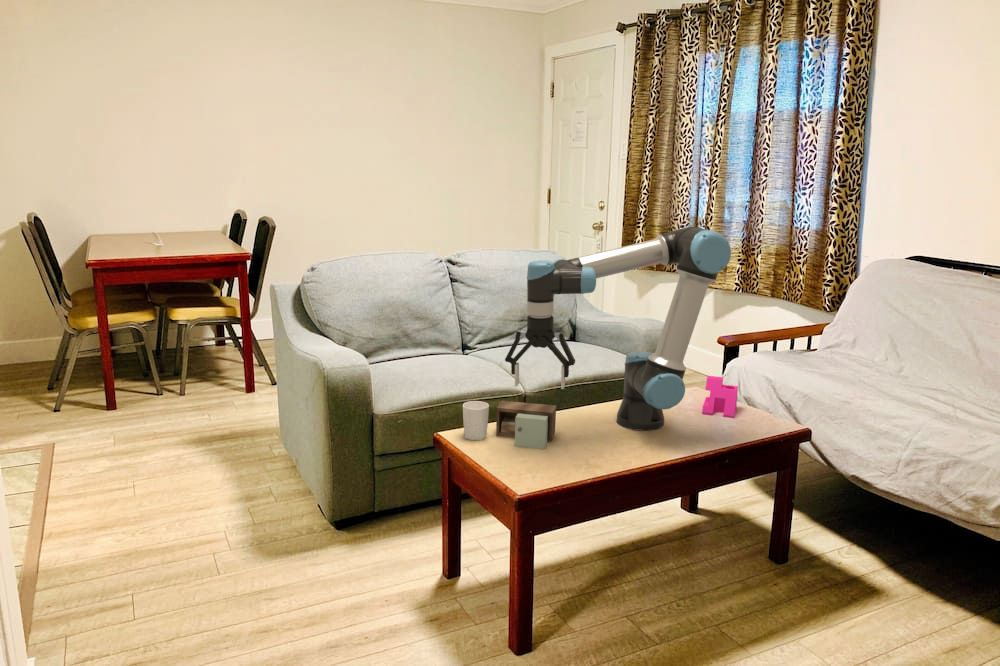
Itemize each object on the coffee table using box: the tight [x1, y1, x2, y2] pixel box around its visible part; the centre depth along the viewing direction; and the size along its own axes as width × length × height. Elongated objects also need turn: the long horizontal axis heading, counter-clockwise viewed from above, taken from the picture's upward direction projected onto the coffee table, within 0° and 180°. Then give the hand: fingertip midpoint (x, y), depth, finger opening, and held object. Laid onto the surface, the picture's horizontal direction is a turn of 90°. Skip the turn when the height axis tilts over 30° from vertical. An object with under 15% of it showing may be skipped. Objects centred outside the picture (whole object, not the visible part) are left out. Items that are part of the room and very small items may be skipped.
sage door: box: [514, 413, 548, 450], centre depth 224 cm, size 9×4×9 cm, turn 77°
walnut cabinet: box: [495, 400, 557, 442], centre depth 232 cm, size 17×10×9 cm, turn 77°
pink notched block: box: [701, 375, 739, 419], centre depth 258 cm, size 12×10×10 cm
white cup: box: [462, 400, 490, 441], centre depth 231 cm, size 8×8×10 cm
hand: (539, 386), depth 223 cm, fingers open, 13 cm apart
